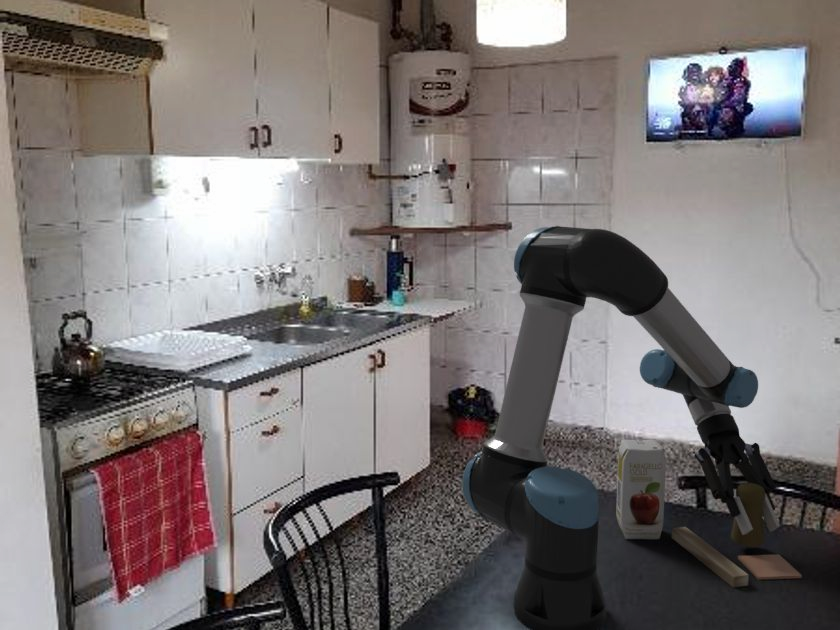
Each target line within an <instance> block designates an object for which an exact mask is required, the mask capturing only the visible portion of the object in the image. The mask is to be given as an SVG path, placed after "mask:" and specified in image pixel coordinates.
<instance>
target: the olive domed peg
mask: <svg viewBox="0 0 840 630" xmlns="http://www.w3.org/2000/svg"><path fill="white" fill-rule="evenodd" d="M735 494H736V495H735V497H738V496H739V497H740V500H741V502H742V504H743V507H744V509H745V511H746V514H747V516H748V518H749V521H750V523H751V525H752V528H753V530H751V531H750V532H749V533H747V534H745V535H742V533H741V530H740V528H739V525H738V523H737V521H736V518H735V517H733V518H734V519H733V524H732V527H731V531H730V538H731V540H732V541H733V542H735V543H738V544H739V545H742V546H746V547H747V546H749V547H759V546H762V545H764V544H765V534H764V533H765V532H764V521H763V520H764V518H763V516H762V503H763V502H764V500H765V491H764V489H763V488H762V487H761V486H759V485H757V484H754V483H748V482H742V483H740V484H738V486H737V487H736V489H735Z"/></svg>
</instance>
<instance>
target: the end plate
mask: <svg viewBox="0 0 840 630" xmlns="http://www.w3.org/2000/svg"><path fill="white" fill-rule="evenodd" d="M737 559H738V560H739V561H740V562H741V564H743V566H744V567H746V569H748V570H749V571H750V573H751V574H752V575H753V576H754V577H755V578H756V579H757V580H758V581H759V580H760V581H761V580H785V579H803V576H802V574H801V573H800V572H799V571H798V570H797V569H796V568H794V567H793V565H791V564H790V563H789V562H788V561H787V560H786V559H785V558H783V557H782V556H781V555H780V554H778V553H777V554H752V555H751V554H750V555H737Z"/></svg>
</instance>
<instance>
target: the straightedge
mask: <svg viewBox="0 0 840 630" xmlns="http://www.w3.org/2000/svg"><path fill="white" fill-rule="evenodd" d="M671 539H672V540H674V541H675V542H676V543H678V545H680V547H682V548H684V549H685V550H686V551H687V552H689V554H691V555H692V556H694V557H695V558H696V559H697V560H698V561H699V562H701V563H702V564H703V565H705V566H706V567H707V568H709V570H711V571H712V572H713V573H714V574H716V575H717V576H718V577H719V578H721V579H722V580H723V581H724V582H726V583H727V584H728V585H730V586H731V588H738V587H745V586H749V578H750V577H749V574H748V573H747V572H745V571H744V570H743V569H742V568H740V567H739V566H737V564H736V563H734V562H732V561H731V560H730V559H728V558H727V556H725V555H723V554H722V553H720V552H719V550H717V549H715V548H714V547H713V546H712V545H710V544H709V543H707V542H706V541H705V540H704V539H702V537H700V536H698V535H697V534H696V533H694V532H693V531H692V530H690V529H689V528H688V527H686V526H679V527H672V528H671Z"/></svg>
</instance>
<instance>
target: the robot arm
mask: <svg viewBox="0 0 840 630" xmlns="http://www.w3.org/2000/svg"><path fill="white" fill-rule="evenodd" d="M513 270H514V272H515V273H516V275H515V277H516V280H517V281H518V282H519V283H520V284H521V286H520V291H519V297H520V298H521V300H522V302H523V303H524V306H525V307H524V310H523V315H522V320H521V324H520V328H519V332H518V336H517V340H516V345H515V349H514V353H513V357H512V361H511V362H512V363H511V367H510V370H509V374H508V379H507V383H506V387H505V391H504V395H503V399H502V404H501V408H500V413H499V417H498V420H497V424H496V429H495V434H494V435H493V437H491V438H489V439H488V440H485V441H484V444H483V448H482V451H479V452H477V453H476V454H475V455H474V456H473V457H472V459H471V460H468V462H467V464H466V466H465V468H464V471H463V475H462V481H461V482H462V483H461V485H462V487H461V489H462V493H463V494H462V495H463V497H464V500H465V502H466V504H467V506H468V507H469V508H470V509H471V510H472V511H473V512H474V513H475V514H477V515H478V516H479V517H480V518H482V519H483V520H485V521H487V522H488V523H492V524H494V525H496V526H497V527H499V528H502V529H503V530H504V531H507V533H511V534H512V535H514V536H515V537H518V538H519V539H521V540H523V541H524V543H525V544H524V545H525V546H524V567H523V570H522V572H521V575H520V578H519V581H518V583H517V586H516V589H515V591H514V595H513V612H514V615H515V617H516V618H517V619H518V621H519V622H520V623H521V624H522V625H524V626H525V627H526V628H528V629H529V630H600V629H601V628H602V627H603V626H604V625H605V622H606V619H607V602H606V598H605V594H604V591H603V589H602V585H601V582H600V579H599V575H598V572H597V564H598V563H597V562H598V561H597V560H598V541H599V540H598V539H599V522H600V521H599V519H600V518H599V517H600V505H599V494H598V490H597V488H596V487H597V486H595V484H594V483H593V481H592V480H591V479H589V478H588V477H587V476H586V475H585V474H582V473H580V472H579V471H576V470H573V469H570V468H561V467H560V466H552V465H551V466H548V461H549V458H548V456H547V454H546V453H545V451H544V449H543V445H544V441H545V436H546V432H547V428H548V424H549V419H550V415H551V412H552V411H551V410H552V407H553V402H554V399H555V394H556V390H557V386H558V381H559V377H560V373H561V368H562V364H563V360H564V356H565V351H566V348H567V344H568V339H569V335H570V330H571V327H572V322H573V318H574V316H575V315H577V314H578V313H580V312H581V311H583V310H584V309H585V305H586V301H587V298H592V299H597V300H601V301H603V302H605V303H609V304H611V305H612V306H614V307H615V308H616V309H617V310H618V311H619V312H620V313H621V314H623V315H624V316H627V317H633V318H634V320H636V321H637V322H638V323H639V325H640V326H641V327H642V328H643V329H644V330H645V331H646V332H647V333H648V335H650V336H651V337H652V338H653V339H654V340H655V341H656V342H657V344H658V345H659V346H660V347H661V348H662V349H659V348H657V349H651V350H649V351H648V352H647V353H645V354H644V355H643V356H642V358H641V360H640V365H639V374H640V376H641V378H642V381H644V382H645V383H646V384H647V385H651V386H652V387H654V388H657V389H662V390H666V391H670V392H674V393H676V394H680V395H682V396H683V399H684V402H685V403H686V406H687V408H688V411H689V413H690V415H691V418H692V420H693V423H694V424H695V426H696V430H697V433H698V434H699V435H698V436H699V438H700V440H701V441H702V442H701V443H702V444H704V447H700V448H699V449H698V450H697V451H696V452H695V453H694V458H695V459H696V461H698V463H699V464H700V466H701V469H702V472H703V474H704V477H705V480H706V482H707V485H708V488H709V490H710V492H711V494H712V495H711V496H712V498H713V499H714V500H720V502H721V503H722V504H726V507H727V509H728V511H729V514H730V516H731V517H732V518H736V521H737V523H738V525H739V528H740V530H741V533H742V535H745V534H747V533H749V532H750V531H751V530H753V528H752V525H751V523H750V521H749V518H748V516H747V514H746V511H745V509H744V507H743V504H742V502H741V500H740V497H739V496H738V497H737V496H735V489H734V484H733V477H732V474H731V473H732V472H731V468H730V467H731V466H730V465H731V464H732V465H733V466H734V468H736V469H737V470H739V472H740V473H741V475H742V476H743V477H744V480H746V483H754V484H757V485H759V486H761V487H762V488H763V489H764V491H765V500H764V502H763V503H762V517H763V520H764V522H765V524H766V526H767V530H768V531H769V532H774V531H776V530H777V529H779V527H781V525H780V522H779V519H778V518H777V515H776V513H775V510H776V507H775V504H774V502H773V500H772V497H771V495H770V493H771V492H773V491H774V490H775V489H776V488H777V487H776V484H775V481H774V480H773V477H772V475H771V473H770V472H769V471H770V470H769V469H768V467H767V465H766V463H765V461H764V459H763V456H762V455H761V451H760V450H761V449H760V445H759V443H758V442H754V443H752V444H749V443H746V442H745V440H744V439H743V438H742V437H741V436H740V430H739V427H738V425H737V422H736V419H735V417H734V416H733V415H732V411H731V408H730V407H734V408H738V409H743V408H748V407H749V406H750V405H751V404H752V403H753V402H754V401H755V398H756V396H757V393H758V391H759V380H758V377H757V374H756V373H755V372H754V371H753V370H751V369H749V368H748V369H747V368H745V367H743V366H737V365H735V364H734V363H733V362H731V361H730V359H729V358H728V357H727V356H726V355H725V353H724V352H723V351H722V350H721V349H720V347H719V346H718V345H717V344H716V343H715V341H713V339H712V338H711V336H709V334H708V333H707V332H706V331H705V330H704V328H703V327H702V326H701V325H700V323H699V322H698V321H697V320H696V319H695V317H693V315H692V314H691V313H690V312H689V311H688V309H687V308H686V307H685V306H684V305H683V304H682V303H681V301H680V300H679V299H678V298H677V296H676V295H675V294H674V293H673V292H672V290H671V289H670V288H669V279H668V276H667V275H666V274H665V273H664V272H663V271H662V269H661V268H660V267H659V266H658V264H657V263H656V262H655V261H654V260H653V259H652V258H651V257H650V256H648V255H647V254H646V253H645V252H644V251H643V250H642V249H641V248H640V247H638V246H637V245H636V244H634V243H632V242H631V241H630V240H628V239H627V238H625V237H624V236H622V235H620V234H618V233H616V232H614V231H610V230H607V229H602V228H584V227H571V226H559V225H556V226H555V225H554V226H549V227H548V226H547V227H545V226H544V227H540V228H536V229H534V230H532V231H531V232H530V233H528V234H527V235H526V236H525V237H524V238H523V239H522V240H521V242H520V243H519V244H518V247H517V249H516V251H515V255H514V260H513ZM713 459H714V460H713Z"/></svg>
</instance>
